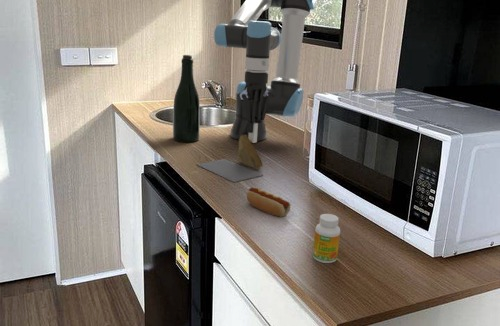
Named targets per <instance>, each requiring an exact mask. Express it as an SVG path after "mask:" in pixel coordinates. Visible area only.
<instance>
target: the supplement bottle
mask: <svg viewBox="0 0 500 326" xmlns="http://www.w3.org/2000/svg"><path fill="white" fill-rule="evenodd" d="M339 220H340V219H339V217H338V216H337V215H335V214H332V213H322V214H320V215H319V223H317V224H316V226H315V230H314V239H313V249H312V258H313V259H314V260H315V261H317V262H319V263H323V264H332V263H334V262H336V261H337V259H338V254H339V245H340V237H341V228H340V226H339Z"/></svg>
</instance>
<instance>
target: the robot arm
mask: <svg viewBox="0 0 500 326" xmlns="http://www.w3.org/2000/svg"><path fill="white" fill-rule="evenodd" d="M316 4H317V0H245V1H244V2H243V4H242V5H241V6H240V8H239V9H238V10H237V12H235V14H234V15H233V16H232V18H231V19H230V20H229V22H228V23H219V24H217V25H216V26H215V29H214V34H213V38H214V42H215V44H216V46H218V47H225V48H232V49H233V48H234V49H235V48H236V49H245V65H244V69H245V71H244V81H241V82H239V83H238V84H237V86H236V93H235V98H236V99H235V116H234V121H233V123H232V127H231V129H230V137H231V138H233V139H235V140H238V141H239V139H240V136H241V135H246V136H247V137H248V139H249V140H250V142H251V144H252V143H253V144H254V143H258V141H259V142H260V141H264V140H266V139H267V137H268V133H267V128H266V123H265V117H266V115H270V116H278V117H284V118H285V117H289V118H294V117H297V115H298V113H299V112H300V110H301V107H302V104H303V99H304V89H303V88H302V87H301V83H300V81H299V80H298V74H299V68H300V62H301V61H300V60H301V51H302V46H303V37H304V29H305V24H306V23H305V22H306V18H308V16H310V14H311V11H313V10H314V9H315V8H316ZM269 8H280V12H281V14H282V16H283V18H282V25H281V32H280V31H279V29H277V28H276V27H273V26H272V23H271V22H270V21H263V20H258V19H259V18H260V16H261V15H262V13H263V12H264V11H266V10H268V9H269ZM278 47H279V49H278V57H277V64H276V71H275V73H276V74H275V77H274V78H273V79H271V80H270V85H269V84H268V80H269V73H268V72H267V71H269V65H270V64H269V63H270V53H271V52H270V51H274V50H275V49H276V48H278Z"/></svg>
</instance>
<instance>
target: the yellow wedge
mask: <svg viewBox="0 0 500 326" xmlns="http://www.w3.org/2000/svg"><path fill="white" fill-rule="evenodd" d="M237 147H238V148H237V157H238V160H239V161H240V162H241V163H242V164H243V165H245V166H248V167H251V168H255V170H259V169H260V168H262V167H263V166H264V164H263V162H262V159H261V158H260V156H259V153H258V152H257V150H256V148H255V146H254V145H253V144H252V142H250V140H249V139H248V137H247V136H246V135H241V136H240V139H239V140H238V145H237Z"/></svg>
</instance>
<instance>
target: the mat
mask: <svg viewBox="0 0 500 326" xmlns="http://www.w3.org/2000/svg"><path fill="white" fill-rule="evenodd" d="M196 166H198V167H200V168H202V169H204V170H206V171H208V172H211V173H213V174H215V175H216V176H219V177H221V178H223V179H226V180H227V181H230V182H232V183H239V182H242V181H246V180H251V179H255V178H259V177H263V176H264V174H261V173H259V172H257V171H256V170H255V171H254V170H252V169H250V168H249V167H245V166H243V165H241V164H238V163H236V162H234V161H231V160H230V159H226V158H221V159H218V160H217V159H216V160H212V161H207V162H206V161H205V162H202V163H197V164H196Z"/></svg>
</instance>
